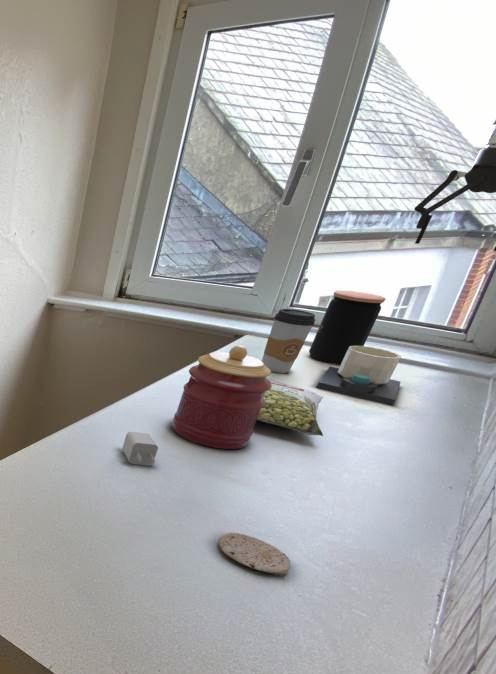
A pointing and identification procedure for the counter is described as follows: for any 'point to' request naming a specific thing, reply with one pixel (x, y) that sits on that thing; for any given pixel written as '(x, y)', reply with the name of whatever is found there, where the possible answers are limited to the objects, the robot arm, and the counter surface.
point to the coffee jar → (345, 325)
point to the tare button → (361, 379)
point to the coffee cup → (287, 339)
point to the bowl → (369, 363)
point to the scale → (359, 387)
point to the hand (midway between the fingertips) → (454, 247)
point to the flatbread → (254, 553)
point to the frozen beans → (291, 408)
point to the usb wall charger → (140, 448)
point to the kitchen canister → (222, 399)
